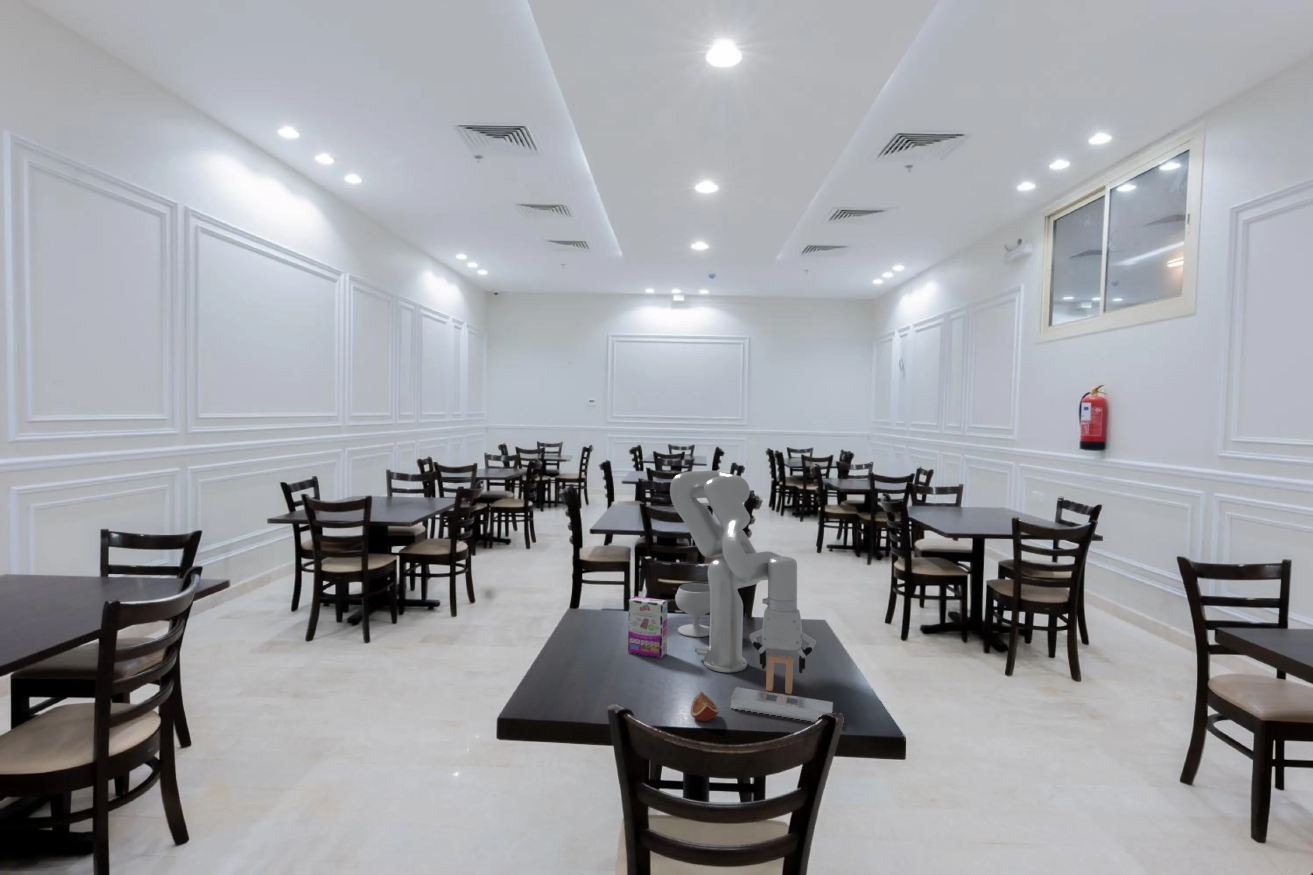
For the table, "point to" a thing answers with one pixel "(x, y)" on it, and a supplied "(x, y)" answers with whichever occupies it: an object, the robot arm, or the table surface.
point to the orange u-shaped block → (770, 671)
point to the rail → (779, 704)
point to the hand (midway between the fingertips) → (782, 669)
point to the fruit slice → (703, 708)
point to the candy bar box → (647, 626)
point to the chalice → (694, 607)
